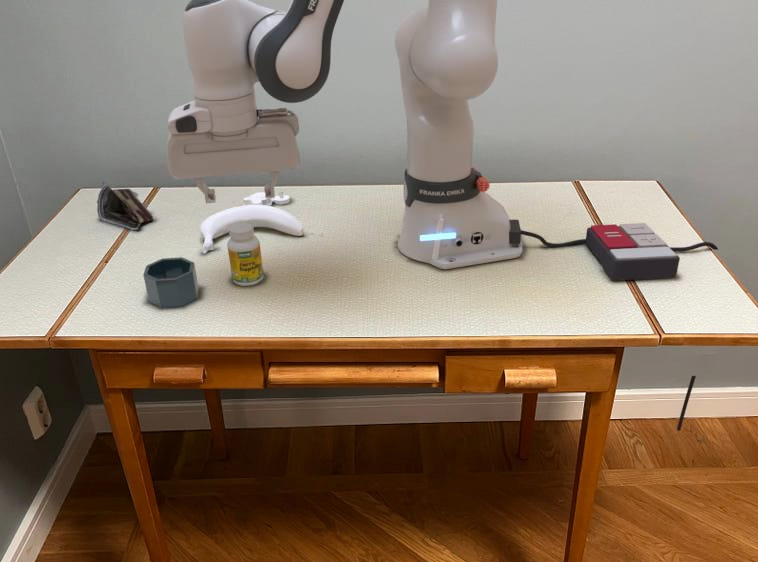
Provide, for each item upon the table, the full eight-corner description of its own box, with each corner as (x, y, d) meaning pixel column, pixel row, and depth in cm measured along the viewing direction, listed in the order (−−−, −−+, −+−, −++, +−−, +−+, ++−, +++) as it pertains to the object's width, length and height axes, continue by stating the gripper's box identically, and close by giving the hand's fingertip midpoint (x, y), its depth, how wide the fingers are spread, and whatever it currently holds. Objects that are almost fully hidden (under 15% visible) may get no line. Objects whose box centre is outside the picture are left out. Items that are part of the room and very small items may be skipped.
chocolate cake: (168, 221, 149) (140, 170, 149) (141, 224, 143) (112, 170, 144) (143, 246, 154) (116, 196, 155) (116, 250, 148) (88, 198, 149)
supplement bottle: (255, 268, 130) (249, 217, 125) (269, 281, 126) (263, 229, 121) (227, 277, 128) (219, 225, 122) (240, 289, 124) (232, 237, 119)
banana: (309, 225, 145) (289, 259, 133) (217, 224, 148) (190, 257, 136) (306, 201, 142) (286, 234, 130) (212, 201, 145) (184, 233, 134)
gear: (272, 217, 148) (271, 207, 147) (234, 212, 151) (233, 202, 150) (292, 199, 156) (291, 189, 154) (255, 195, 158) (254, 185, 157)
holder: (200, 282, 126) (195, 256, 124) (196, 305, 120) (191, 278, 117) (153, 285, 126) (148, 259, 123) (147, 309, 120) (140, 281, 117)
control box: (646, 220, 134) (682, 253, 122) (642, 242, 137) (676, 277, 124) (586, 223, 134) (615, 257, 121) (583, 245, 136) (612, 281, 123)
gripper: (296, 100, 114) (305, 186, 122) (162, 111, 113) (179, 196, 121) (297, 113, 109) (306, 201, 117) (156, 123, 108) (175, 212, 116)
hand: (240, 199), depth 119 cm, fingers open, 8 cm apart
